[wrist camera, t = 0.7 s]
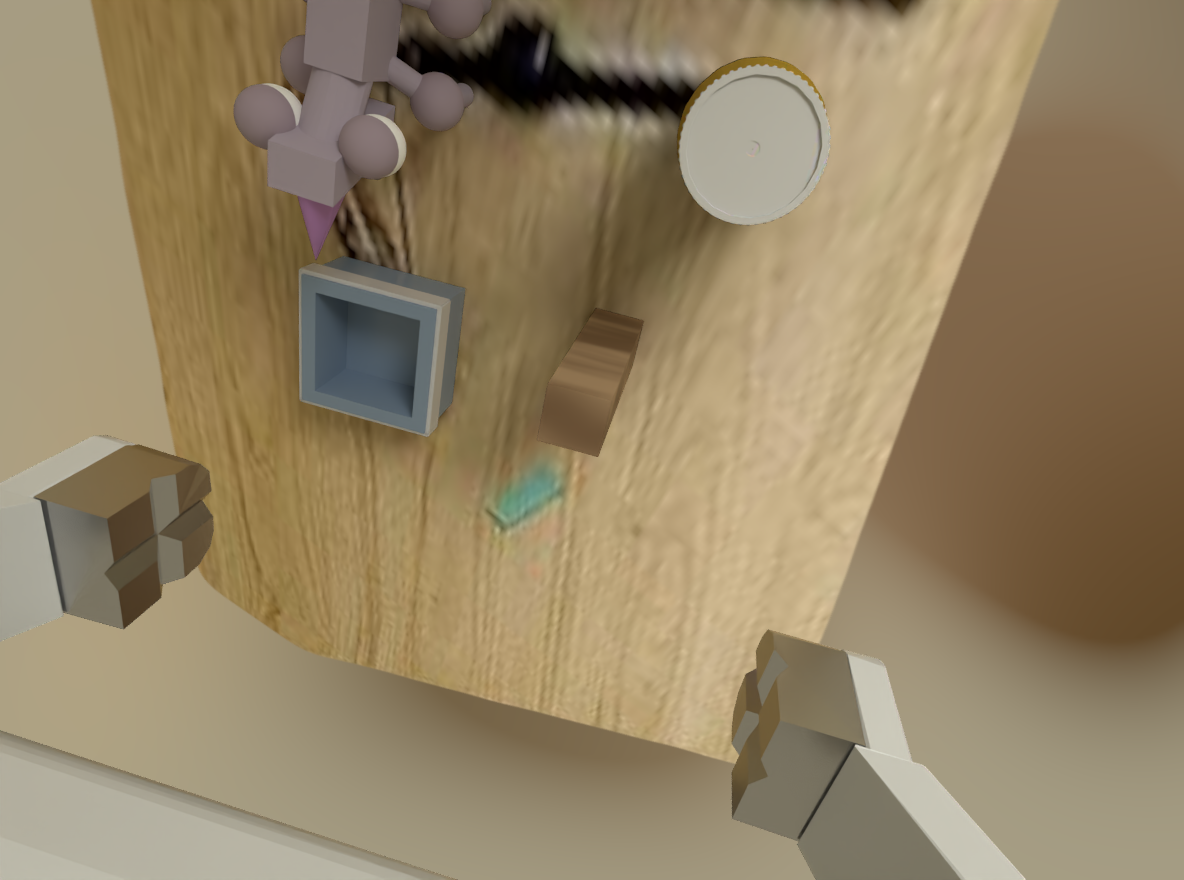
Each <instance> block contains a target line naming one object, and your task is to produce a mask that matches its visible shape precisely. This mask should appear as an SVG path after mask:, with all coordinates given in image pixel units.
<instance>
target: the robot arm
mask: <svg viewBox="0 0 1184 880" xmlns="http://www.w3.org/2000/svg"><path fill="white" fill-rule="evenodd" d="M210 492H211V483H210V474H209V471H208V470H207V469H206V468H205V467H204V466H202V465H201V464H199V463H196V462H193V461H189V460H186V459H183V458H180V457H177V456H174V455H170V454H167V453H164V452H161V451H158V450H155V449H151V448H148V447H145V446H142V445H136V444H134V443H131V442H127V441H124V440H121V439H118V438H115V437H111V436H108V435H103V436H102V435H99V436H92V437H90V438H88V439H86V440H84V441H82V442H80V443H78V444H76V445H74V446H72V447H70V448H68V449H66V450H64V451H62V452H60V453H58V454H57V455H54V456H52V457H51V458H48V459H46V460H44V461H42V462H40V463H39V464H36V465H35V466H32V467H30V468H29V469H27V470H25V471H23V472H21V473H19V474H17V475H15V476H13V477H11V478H9V479H7V480H5V481H3V482H1V483H0V641H2V640H5V639H7V638H10V637H13V636H15V635H17V634H20V633H23V632H25V631H28V630H30V629H32V628H35V627H37V626H40V625H42V624H45V623H47V622H50V621H52V620H55V619H57V618H60V617H62V616H63V613H67V614H70V615H74V616H77V617H81V618H84V619H88V620H92V621H95V622H99V623H102V624H106V625H110V626H113V627H117V628H120V629H125V628H126V627H127V626H128V625H130V624H131V623H132V622H133V621H134V620H135V619H137V618H138V617H139V616H140V615H141V614H142V613H144V612H145V611H146V610H147V609H148V608H150V606H152V605H153V604H154V603H155V602H157V601H158V600H159V599H160V598H161V595H162V586H163V584H166V583H169V582H171V581H175V580H178V579H181V578H184V577H186V576H187V575H188V574H189V573H190V572H191V571H192V570H193V569H195V567H197V566H198V565H199V564H200V562H201V561H202V559H203V557H204V555H205V554H206V552H207V550H208V549H209V547H210V544H211V540H212V535H213V531H214V529H213V516H212V514H211V513H210V511H209V510H208V508H207V507H206V505H205V504H204V502H203V501H202V500H203V499H204V498H205V497H206V496H207V495H208V494H209V493H210ZM756 664H757V668H756V669H755V670H753V671H751V672H749V673H747V674H746V675H745V677H744V680H743V682H742V685H741V687H740V690H739V692H738V696H737V700H736V704H735V708H734V713H733V722H732V745H733V746H734V748H735V749H736V751H737V752H738V754H739V757H738V759H737V762H736V764H735V766H734V768H733V770H732V819H734V820H737V821H740V822H743V823H746V824H749V825H752V826H755V827H758V828H761V829H764V830H767V831H770V832H773V833H776V834H778V835H781V836H784V837H787V838H791V839H793V840H796V841H799V842H798V844H797V845H798V847H799V849H800V851H801V853H802V855H803V857H804V858H805V860H806V862H807V864H808V866H809V868H810V870H811V872H812V874H813V875H814V877H815V879H816V880H1026V879H1025V878H1024V877H1023V876H1022V875H1021V873H1020V872H1019V871H1018V870H1017V869H1016V868H1015V867H1014V866H1013V865H1012V863H1011V862H1010V861H1009V860H1008V859H1007V858H1006V857H1005V856H1004V854H1003V853H1002V852H1001V851H1000V850H999V849H998V848H997V847H996V845H995V844H994V843H993V842H992V841H991V840H990V839H989V838H988V836H987V835H986V834H985V833H984V832H983V831H982V830H981V829H980V827H978V825H977V824H976V823H975V822H974V821H973V820H972V818H971V817H969V815H968V814H967V813H966V812H965V811H964V809H963V808H962V807H961V806H960V805H959V804H958V803H957V802H956V800H955V799H954V798H953V797H952V796H951V795H950V794H949V793H948V791H947V790H946V789H945V788H944V787H943V786H942V785H941V784H940V783H939V781H938V780H937V779H936V778H935V777H934V776H933V775H932V774H931V773H930V772H929V770H928V769H927V768H926V767H925V766H924V765H921V764H918V763H915V762H912V758H911V755H910V751H909V748H908V745H907V741H906V737H905V734H904V730H903V727H902V723H901V720H900V716H899V713H898V709H897V706H896V702H895V699H894V695H893V692H892V688H891V685H890V681H889V678H888V675H887V671H886V667H885V665H884V664H883V663H882V662H881V660H880V659H877V658H873V657H869V656H865V655H862V654H858V653H854V652H850V651H846V650H838V649H835V648H832V647H828V646H825V645H821V644H818V643H814V642H811V641H807V640H804V639H800V638H797V637H793V636H790V635H786V634H783V633H779V632H776V631H772V630H769V629H768V630H767V631H766V633H765V634H764V635H763V637H762V639H761V641H760V643H759V645H758V647H757V650H756ZM0 880H456V879H453V878H450V877H447V876H444V875H441V874H438V873H435V872H432V871H429V870H425V869H423V868H420V867H416V866H413V865H410V864H407V863H404V862H401V861H398V860H395V859H391V858H388V857H386V856H382V855H379V854H376V853H373V852H370V851H367V850H364V849H361V848H358V847H355V846H352V845H349V844H346V843H343V842H340V841H336V840H334V839H331V838H328V837H325V836H321V835H318V834H315V833H312V832H309V831H306V830H303V829H300V828H297V827H294V826H291V825H287V824H284V823H282V822H279V821H276V820H272V819H269V818H267V817H263V816H260V815H257V814H254V813H251V812H248V811H245V810H242V809H239V808H236V807H233V806H230V805H227V804H224V803H221V802H218V801H215V800H212V799H209V798H205V797H202V796H199V795H196V794H193V793H190V792H187V791H184V790H181V789H178V788H175V787H172V786H169V785H166V784H162V783H160V782H156V781H154V780H151V779H147V778H144V777H141V776H138V775H135V774H132V773H129V772H126V771H123V770H120V769H117V768H114V767H111V766H107V765H105V764H102V763H99V762H96V761H92V760H89V759H86V758H83V757H80V756H77V755H74V754H71V753H68V752H65V751H62V750H59V749H56V748H52V747H50V746H47V745H43V744H40V743H37V742H34V741H31V740H28V739H25V738H22V737H19V736H16V735H13V734H10V733H7V732H3V731H0Z"/></svg>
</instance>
